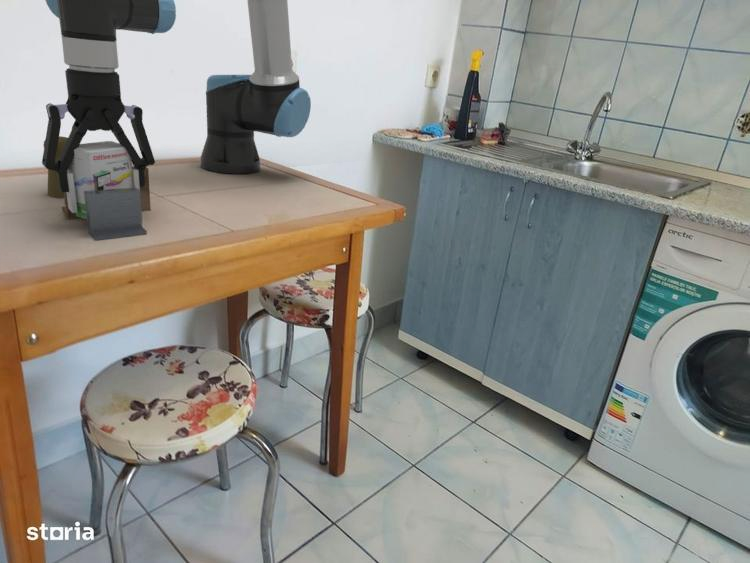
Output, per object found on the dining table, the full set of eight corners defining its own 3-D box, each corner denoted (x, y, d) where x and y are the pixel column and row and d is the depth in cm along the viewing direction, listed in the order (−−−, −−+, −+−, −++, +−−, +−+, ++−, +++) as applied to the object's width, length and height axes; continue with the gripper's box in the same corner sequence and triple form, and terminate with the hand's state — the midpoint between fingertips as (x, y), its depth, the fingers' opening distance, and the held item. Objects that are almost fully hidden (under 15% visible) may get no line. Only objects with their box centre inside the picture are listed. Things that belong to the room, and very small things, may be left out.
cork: (74, 188, 110) (67, 133, 106) (88, 195, 107) (82, 139, 102) (42, 192, 106) (34, 134, 101) (55, 199, 102) (48, 140, 98)
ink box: (95, 222, 89) (87, 150, 84) (74, 216, 91) (65, 145, 86) (136, 211, 96) (131, 144, 91) (116, 205, 98) (110, 140, 93)
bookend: (138, 227, 93) (135, 187, 91) (146, 234, 91) (144, 193, 88) (88, 232, 89) (83, 191, 86) (95, 240, 86) (90, 197, 83)
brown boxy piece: (142, 204, 105) (140, 163, 102) (150, 210, 102) (148, 168, 99) (62, 211, 97) (56, 166, 93) (68, 218, 94) (62, 172, 90)
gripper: (155, 70, 93) (162, 196, 102) (3, 61, 80) (26, 207, 89) (172, 75, 88) (177, 207, 97) (13, 66, 75) (36, 221, 83)
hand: (105, 207), depth 93 cm, fingers closed on ink box, 9 cm apart
